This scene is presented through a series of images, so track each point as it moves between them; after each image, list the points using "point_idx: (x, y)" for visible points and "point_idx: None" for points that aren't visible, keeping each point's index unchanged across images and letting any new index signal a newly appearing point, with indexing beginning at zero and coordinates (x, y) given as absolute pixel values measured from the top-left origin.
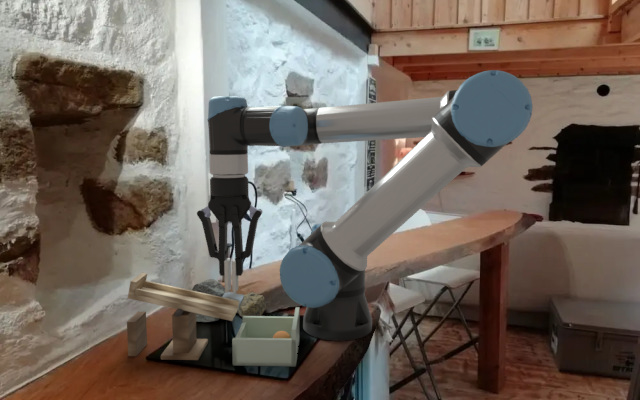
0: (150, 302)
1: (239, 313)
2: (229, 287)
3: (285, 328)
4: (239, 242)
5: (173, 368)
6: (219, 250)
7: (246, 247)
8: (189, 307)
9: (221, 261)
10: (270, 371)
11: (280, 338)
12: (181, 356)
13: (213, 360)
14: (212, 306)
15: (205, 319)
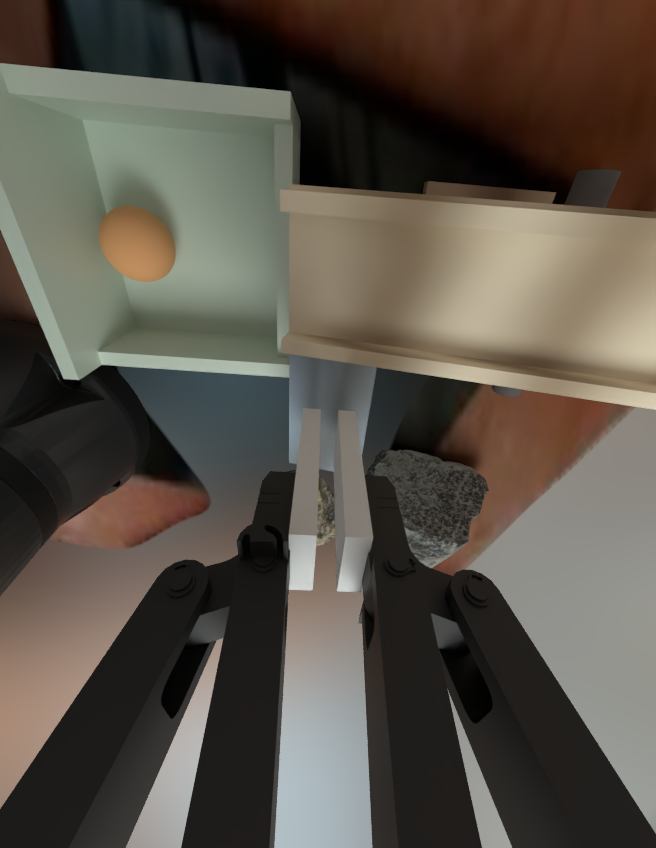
0: None
1: (326, 486)
2: (336, 438)
3: (152, 340)
4: (214, 729)
5: (511, 102)
6: (426, 630)
7: (157, 657)
8: (543, 203)
9: (392, 547)
10: (148, 48)
11: (63, 95)
12: (483, 186)
13: (371, 178)
14: (409, 199)
15: (410, 454)
